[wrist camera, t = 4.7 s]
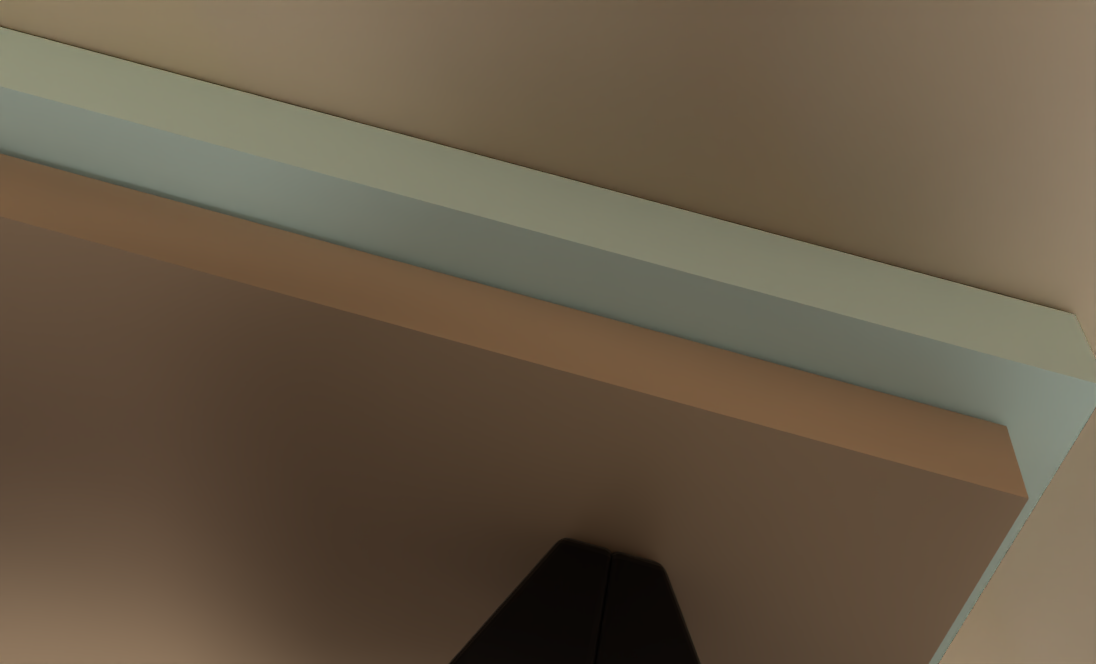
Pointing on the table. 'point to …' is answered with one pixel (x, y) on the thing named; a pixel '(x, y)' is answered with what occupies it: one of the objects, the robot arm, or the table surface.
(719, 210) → the table surface
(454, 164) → the underlay base
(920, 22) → the table surface
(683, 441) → the plank
